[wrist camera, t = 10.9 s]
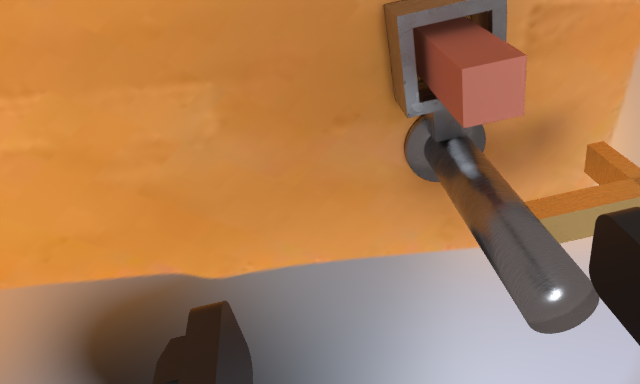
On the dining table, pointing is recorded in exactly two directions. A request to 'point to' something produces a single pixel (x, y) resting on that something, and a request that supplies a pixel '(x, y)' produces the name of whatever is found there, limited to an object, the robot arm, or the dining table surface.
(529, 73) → the dining table surface
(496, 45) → the red rectangular block
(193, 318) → the robot arm
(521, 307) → the grey stand
